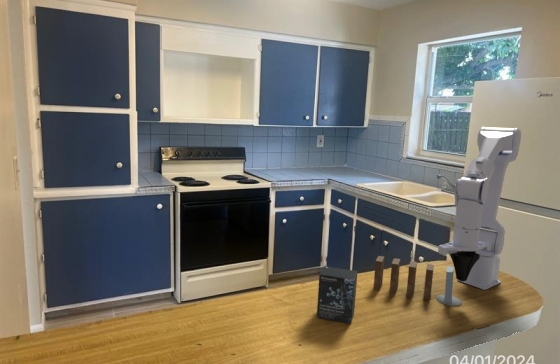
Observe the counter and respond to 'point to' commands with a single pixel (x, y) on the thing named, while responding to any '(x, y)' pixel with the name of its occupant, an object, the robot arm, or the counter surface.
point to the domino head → (449, 284)
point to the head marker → (454, 303)
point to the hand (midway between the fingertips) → (461, 279)
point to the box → (336, 294)
